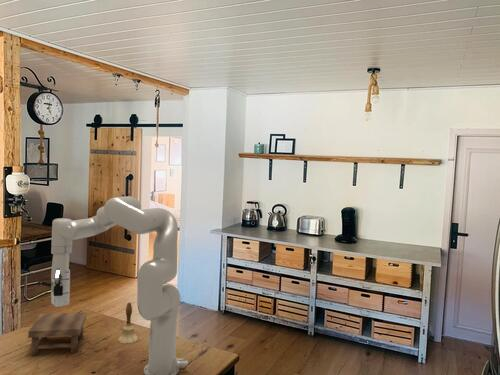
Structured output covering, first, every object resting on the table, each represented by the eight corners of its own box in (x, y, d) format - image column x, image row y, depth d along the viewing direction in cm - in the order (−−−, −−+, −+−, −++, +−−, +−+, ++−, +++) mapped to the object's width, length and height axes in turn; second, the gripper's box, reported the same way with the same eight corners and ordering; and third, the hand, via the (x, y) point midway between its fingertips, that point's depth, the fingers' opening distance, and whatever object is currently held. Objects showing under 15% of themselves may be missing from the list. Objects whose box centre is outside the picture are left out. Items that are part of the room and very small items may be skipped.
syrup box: (69, 304, 160) (71, 269, 159) (54, 307, 156) (55, 271, 155) (65, 300, 164) (66, 266, 164) (49, 303, 160) (51, 268, 160)
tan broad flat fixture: (85, 335, 172) (86, 312, 171) (78, 354, 154) (79, 328, 154) (40, 337, 167) (40, 314, 167) (27, 357, 150) (28, 331, 149)
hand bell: (114, 342, 166) (115, 305, 166) (123, 334, 174) (125, 299, 174) (132, 345, 165) (134, 307, 164) (141, 337, 173) (142, 301, 172)
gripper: (56, 245, 167) (55, 286, 167) (46, 253, 150) (44, 299, 151) (75, 245, 169) (74, 285, 169) (67, 253, 152) (66, 299, 152)
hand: (60, 292), depth 160 cm, fingers closed on syrup box, 7 cm apart
